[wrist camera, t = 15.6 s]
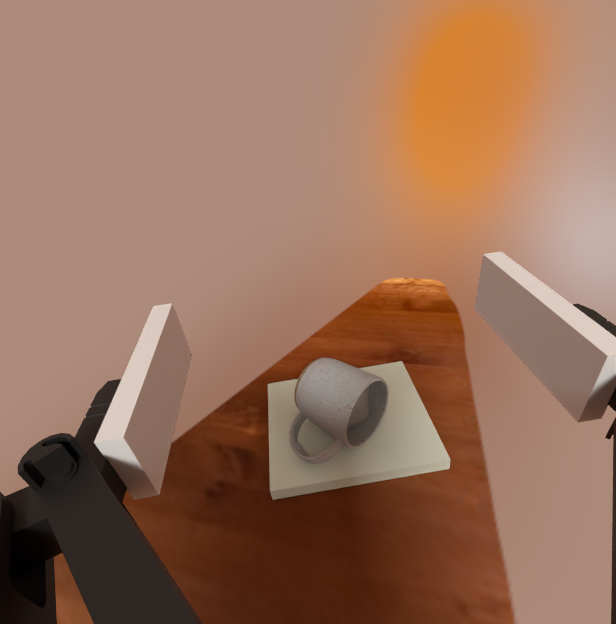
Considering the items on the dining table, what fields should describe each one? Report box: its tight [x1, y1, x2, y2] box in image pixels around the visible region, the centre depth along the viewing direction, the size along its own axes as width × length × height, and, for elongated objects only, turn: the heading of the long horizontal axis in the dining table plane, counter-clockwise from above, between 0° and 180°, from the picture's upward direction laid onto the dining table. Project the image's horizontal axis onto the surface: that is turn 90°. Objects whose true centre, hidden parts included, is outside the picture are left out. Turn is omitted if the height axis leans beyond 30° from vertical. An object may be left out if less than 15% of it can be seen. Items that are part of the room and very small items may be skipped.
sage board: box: [268, 361, 450, 500], centre depth 43 cm, size 18×15×2 cm
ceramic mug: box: [289, 358, 389, 464], centre depth 39 cm, size 11×8×8 cm
